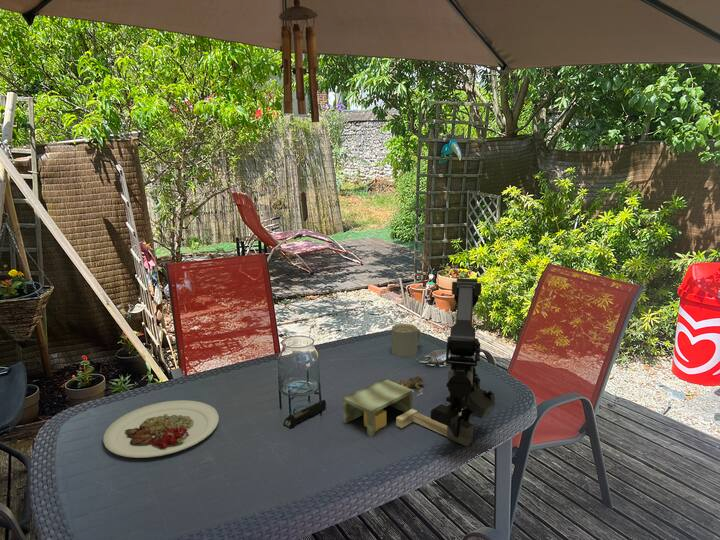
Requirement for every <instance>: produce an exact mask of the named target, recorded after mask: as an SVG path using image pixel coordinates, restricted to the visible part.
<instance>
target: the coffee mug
mask: <svg viewBox="0 0 720 540" xmlns="http://www.w3.org/2000/svg"><path fill="white" fill-rule="evenodd" d="M421 337H422V331H421V329H419V328H418V327H417V326H416V325H414V324H411V323H397V324H393V325H392V327H391V354H392V355H393V356H395V357H398V358H412V357H416V355H418V344H419V342H420V340H421Z"/></svg>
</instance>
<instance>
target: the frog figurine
mask: <svg viewBox="0 0 720 540" xmlns="http://www.w3.org/2000/svg"><path fill="white" fill-rule="evenodd" d="M423 382H424V377H421V376H420V375H417V376H416V377H410V378H408V379H407V380H406V381H404V380H402V379H401V380H398V379H397V380H396V382H395V383H397V384H399V385H402V386H404V387H407V388H409V389H412V390H413V393H414V392H415V391H417V392H419V394H417V395H416V397H418V396H421V395H422V394H424V393H423V391H424V388H422V387H421V386H419V384H421V383H423Z"/></svg>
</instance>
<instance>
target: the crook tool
mask: <svg viewBox="0 0 720 540" xmlns="http://www.w3.org/2000/svg"><path fill="white" fill-rule="evenodd" d="M395 419H396V421H395V422H396V425H395V426H396V427H398V428H400V429H403V428H404V427H407V426H408V425H410V424H412V423H415V424H418V425H420V426H422V427H425V428H427V429H429V430H432V431H433V432H436V433H437V434H440V435H442V436H445V437H446V438H447V439H448V440H451V441H453V442H455V443H458V444H460V445H461V446H464V447H468V446H469V445H470V444H472V443H473V441H474V440H473V439H474V436H473V434H474V424H472V423H470V422H469V423H468V422H466V421H463V420H462V421H461V422H460V429H459V435H458V437H457V438H456V437H454V435H453V433H452V431H451V429H450V427H449V426H446V425H444V424H442V423H439V422H437V421H435V420H432V419H431V417H430V416H429V417H428V416H426V415H424V414H422V413H419V412H418V410H416V409H415V408H412V409H411V410H409V411H407V412H403V413H402V414H400V415H398V416H396V418H395Z"/></svg>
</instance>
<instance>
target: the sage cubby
mask: <svg viewBox="0 0 720 540" xmlns="http://www.w3.org/2000/svg"><path fill="white" fill-rule="evenodd" d="M413 390H414V389H413ZM413 390H412V389H409V388H407V387H404V386H402V385H399V384H397V383H396V382H394V381H391V380H389V379H386V378H383V379H381V380H378V381H377V382H375V383H373V384H371V385H369V386H365V387H364V388H361V389H359V390H357V391H355V392H353V393H351V394H349V395H346V396H344V397H342V413H343V414H342V415H343V416H342V417H343V419H342V421H343V423H344V424H348V423H349V421H350V422H351V421H354V420H355V419H357V418H359V417H361V416H364V411H365V412H367V427H366V428H367V429H366V432H367V433H366V435H368V436H369V437H373V436H375V435H376V431H375V412H377V411H379V410H381V409H383V410H384V408H387V407H388V406H390V407H393V408H394V409H397V410H399V411H401V412H403V413H405V412H407V411H409V410H411V409H413V397H414V396H413V394H414V392H413ZM358 416H359V417H358ZM347 422H348V423H347Z"/></svg>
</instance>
